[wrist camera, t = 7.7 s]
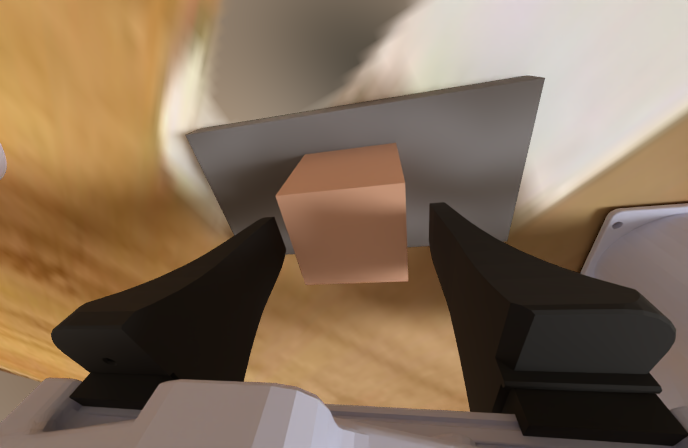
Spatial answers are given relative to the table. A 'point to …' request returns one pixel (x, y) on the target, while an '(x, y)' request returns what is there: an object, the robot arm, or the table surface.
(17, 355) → the table surface
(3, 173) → the wedge on round base
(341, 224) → the cube
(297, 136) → the charcoal board
